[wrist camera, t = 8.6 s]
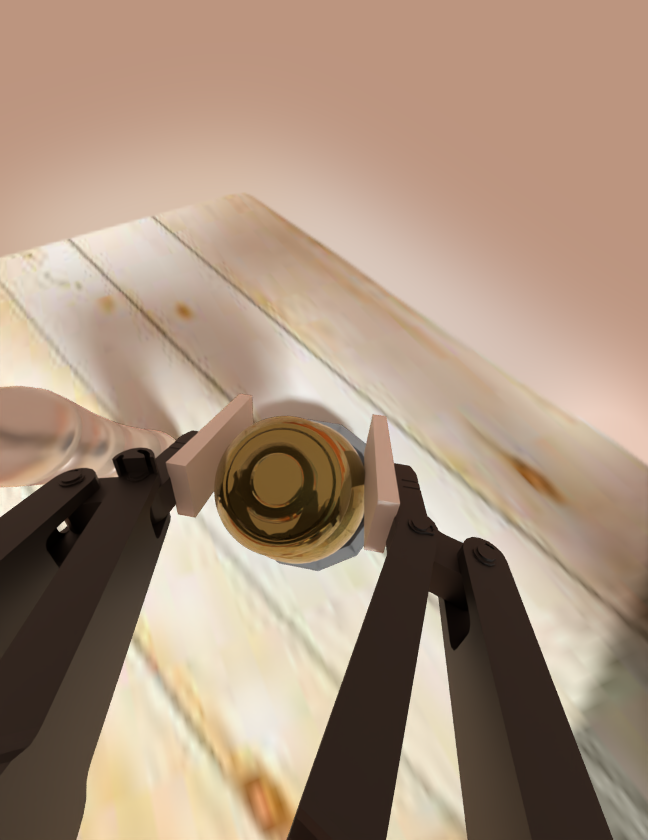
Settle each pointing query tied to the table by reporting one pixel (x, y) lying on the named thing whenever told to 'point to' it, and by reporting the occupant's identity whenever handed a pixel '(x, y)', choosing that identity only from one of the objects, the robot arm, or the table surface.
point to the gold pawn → (290, 489)
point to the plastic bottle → (61, 438)
